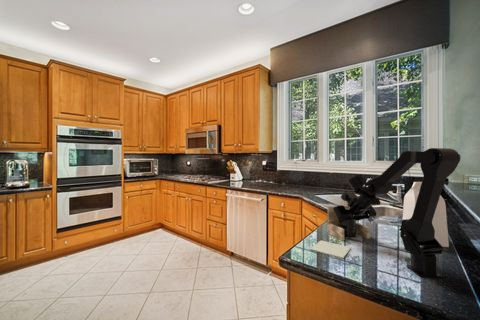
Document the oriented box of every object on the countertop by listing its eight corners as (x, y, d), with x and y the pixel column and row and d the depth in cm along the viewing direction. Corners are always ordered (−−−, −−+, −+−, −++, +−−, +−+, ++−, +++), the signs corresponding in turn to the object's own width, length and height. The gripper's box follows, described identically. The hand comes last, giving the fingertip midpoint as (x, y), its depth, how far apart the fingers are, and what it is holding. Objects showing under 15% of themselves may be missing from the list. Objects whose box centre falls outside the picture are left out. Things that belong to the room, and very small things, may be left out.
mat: (350, 248, 85) (350, 247, 85) (343, 258, 76) (343, 257, 76) (320, 241, 93) (320, 240, 93) (310, 249, 83) (310, 248, 83)
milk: (432, 237, 97) (431, 181, 98) (448, 247, 86) (447, 183, 87) (401, 235, 101) (401, 180, 101) (413, 243, 90) (413, 182, 90)
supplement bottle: (358, 238, 95) (358, 212, 96) (342, 237, 97) (342, 211, 97) (353, 233, 102) (353, 209, 102) (338, 232, 104) (338, 208, 104)
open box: (369, 238, 96) (369, 209, 96) (342, 240, 93) (341, 211, 93) (352, 231, 106) (352, 205, 107) (327, 232, 104) (327, 206, 104)
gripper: (371, 186, 98) (354, 205, 108) (335, 187, 94) (321, 207, 105) (386, 207, 90) (366, 225, 101) (348, 209, 86) (331, 228, 97)
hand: (345, 221), depth 101 cm, fingers closed on supplement bottle, 7 cm apart
